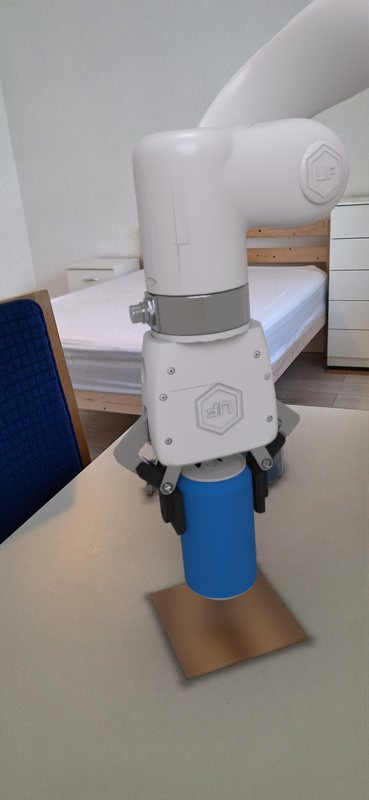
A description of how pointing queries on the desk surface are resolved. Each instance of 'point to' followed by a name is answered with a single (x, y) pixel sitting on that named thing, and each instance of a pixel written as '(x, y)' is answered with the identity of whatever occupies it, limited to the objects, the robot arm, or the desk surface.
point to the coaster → (225, 626)
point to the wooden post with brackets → (148, 486)
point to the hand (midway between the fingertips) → (216, 514)
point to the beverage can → (218, 527)
